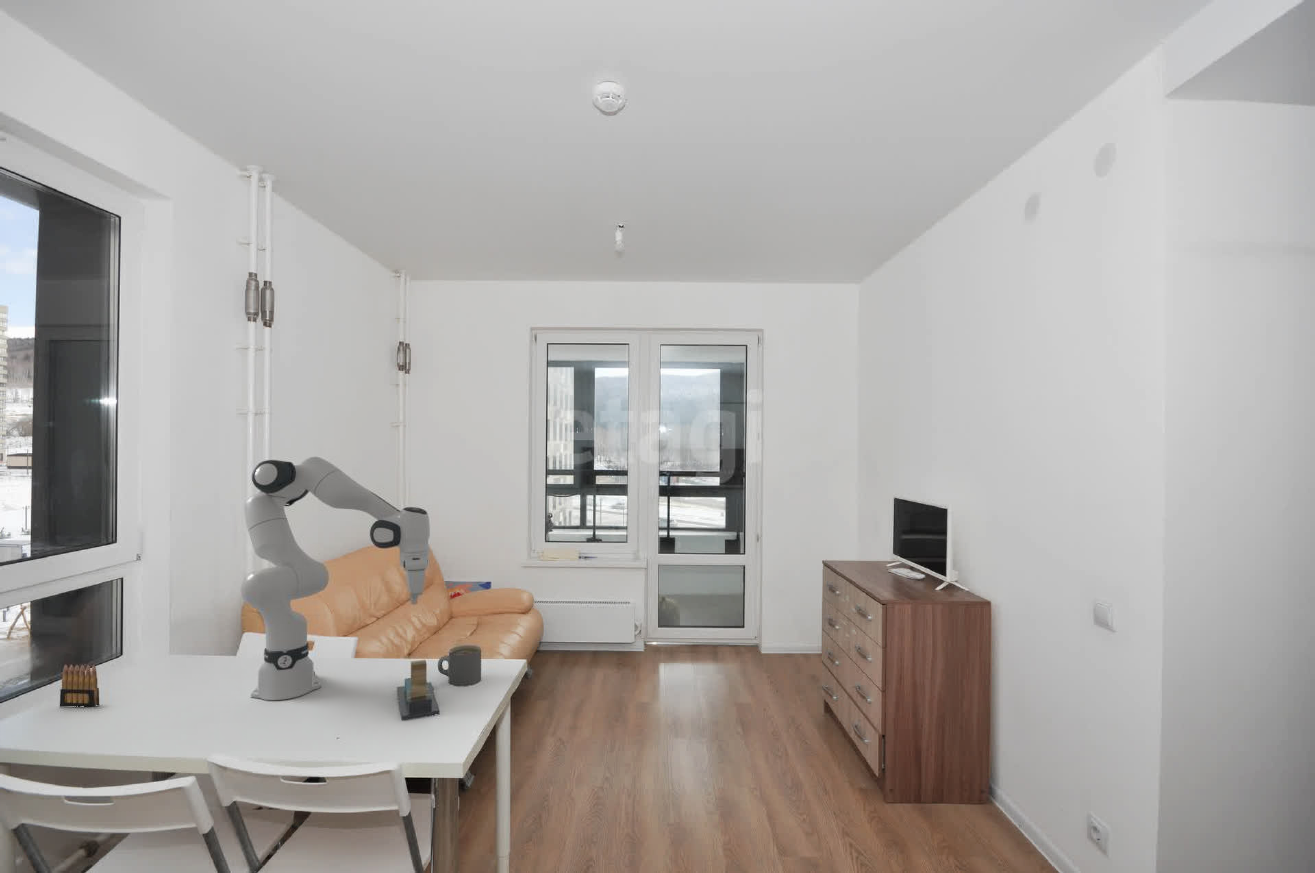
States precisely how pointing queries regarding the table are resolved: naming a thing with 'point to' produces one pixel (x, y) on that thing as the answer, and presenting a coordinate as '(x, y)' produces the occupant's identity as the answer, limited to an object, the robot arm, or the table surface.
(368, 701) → the table surface
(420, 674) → the oak block
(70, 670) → the ammunition clip
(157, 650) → the table surface
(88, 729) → the table surface
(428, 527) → the robot arm
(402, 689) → the vise
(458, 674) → the coffee mug
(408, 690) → the block
